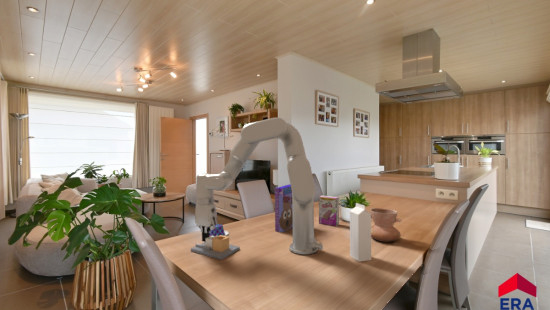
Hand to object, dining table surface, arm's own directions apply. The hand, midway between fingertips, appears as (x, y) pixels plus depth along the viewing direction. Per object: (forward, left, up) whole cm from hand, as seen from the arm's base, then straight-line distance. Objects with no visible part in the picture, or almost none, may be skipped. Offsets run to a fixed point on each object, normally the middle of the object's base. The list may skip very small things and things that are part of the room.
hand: (205, 240), depth 114 cm
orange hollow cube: (-9, 0, -2) cm, 9 cm away
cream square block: (-4, 0, -2) cm, 4 cm away
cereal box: (-19, -44, -4) cm, 48 cm away
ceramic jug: (-69, -51, -4) cm, 86 cm away
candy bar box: (-38, -62, -4) cm, 73 cm away
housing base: (-6, 0, -3) cm, 7 cm away
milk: (-64, -23, -4) cm, 68 cm away
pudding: (+8, -16, -4) cm, 18 cm away
